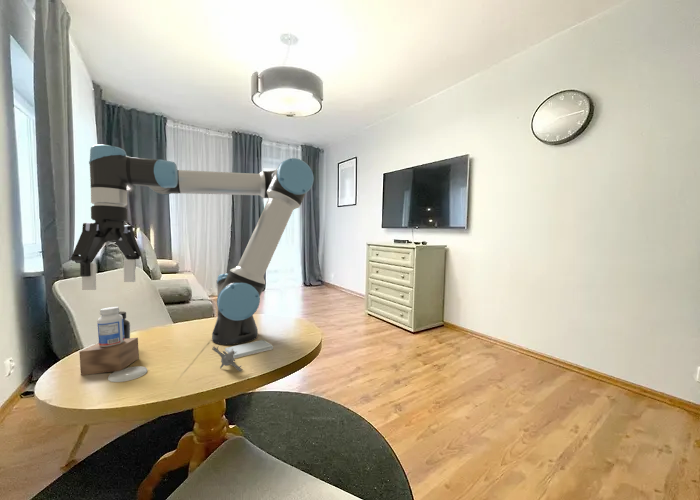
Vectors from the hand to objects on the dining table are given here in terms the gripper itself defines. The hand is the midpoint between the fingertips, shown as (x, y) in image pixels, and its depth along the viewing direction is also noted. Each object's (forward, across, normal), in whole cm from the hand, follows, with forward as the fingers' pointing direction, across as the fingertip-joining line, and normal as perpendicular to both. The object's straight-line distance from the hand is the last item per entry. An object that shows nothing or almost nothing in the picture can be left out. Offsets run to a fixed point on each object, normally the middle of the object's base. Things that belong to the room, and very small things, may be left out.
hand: (111, 285), depth 79 cm
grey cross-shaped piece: (+23, 0, +31) cm, 38 cm away
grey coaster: (+22, +5, +8) cm, 24 cm away
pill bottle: (+16, 0, 0) cm, 16 cm away
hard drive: (+23, -13, +32) cm, 42 cm away
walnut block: (+22, 0, 0) cm, 22 cm away
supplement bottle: (+22, -12, -8) cm, 27 cm away
